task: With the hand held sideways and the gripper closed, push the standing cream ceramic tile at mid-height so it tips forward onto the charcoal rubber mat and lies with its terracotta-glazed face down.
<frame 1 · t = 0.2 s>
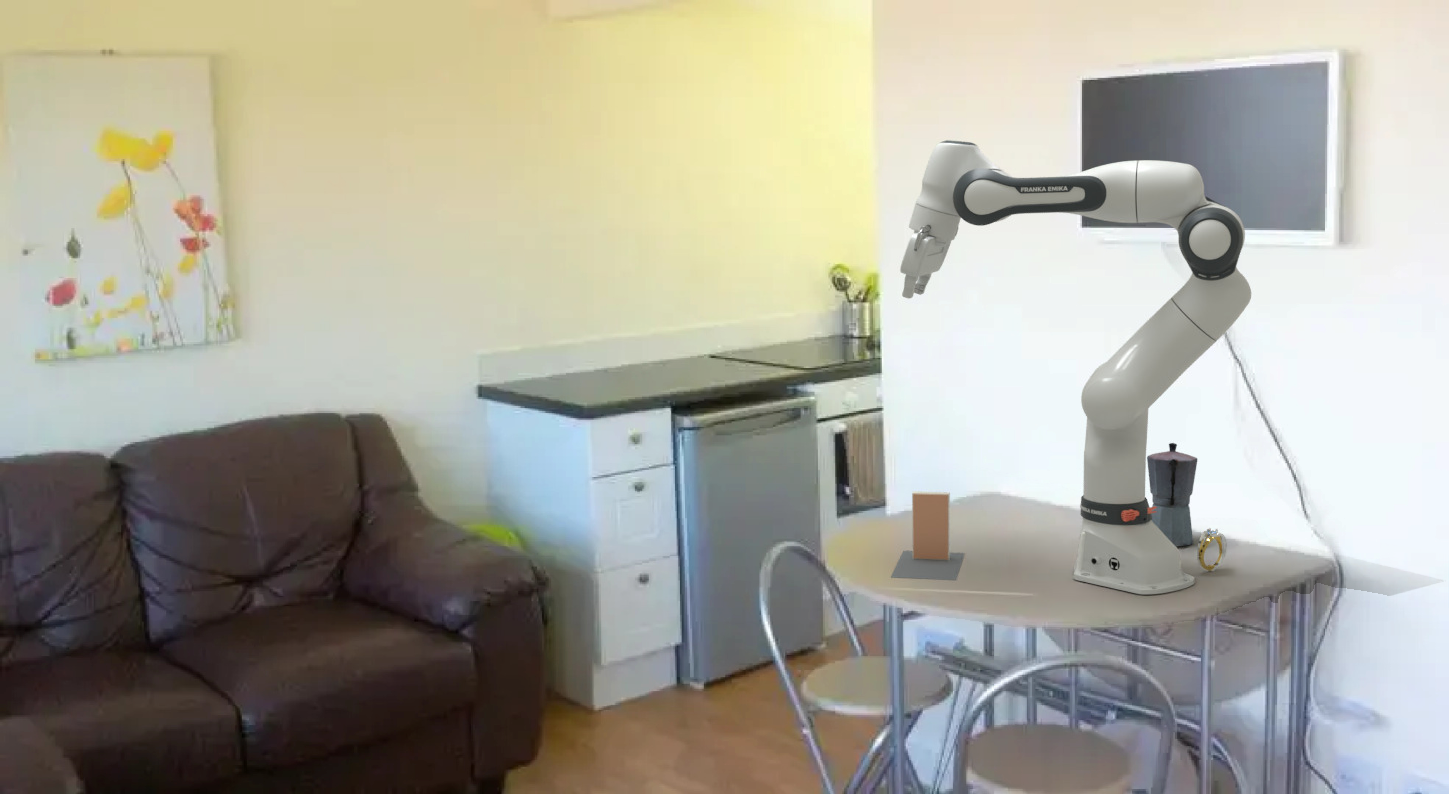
hand: (912, 295, 289), 51 cm above the table, tool tilted 15°, fingers open, 8 cm apart
moka pot: (1171, 544, 304), on the table
tile: (931, 558, 296), resting on mat
ring: (1211, 572, 284), on the table
mat: (928, 567, 291), on the table
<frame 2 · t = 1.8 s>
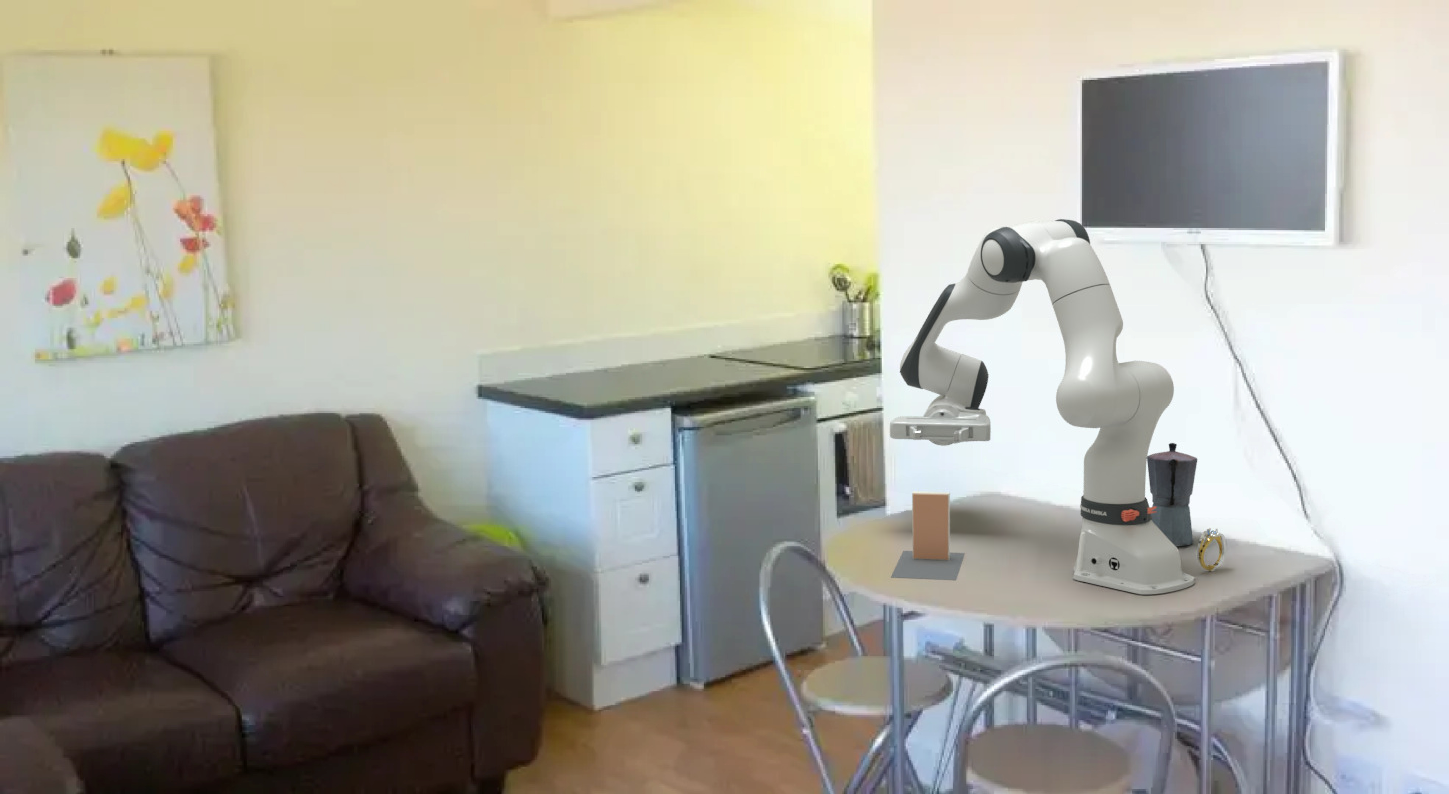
hand: (937, 436, 304), 22 cm above the table, tool horizontal, fingers open, 7 cm apart
nothing on the table moved.
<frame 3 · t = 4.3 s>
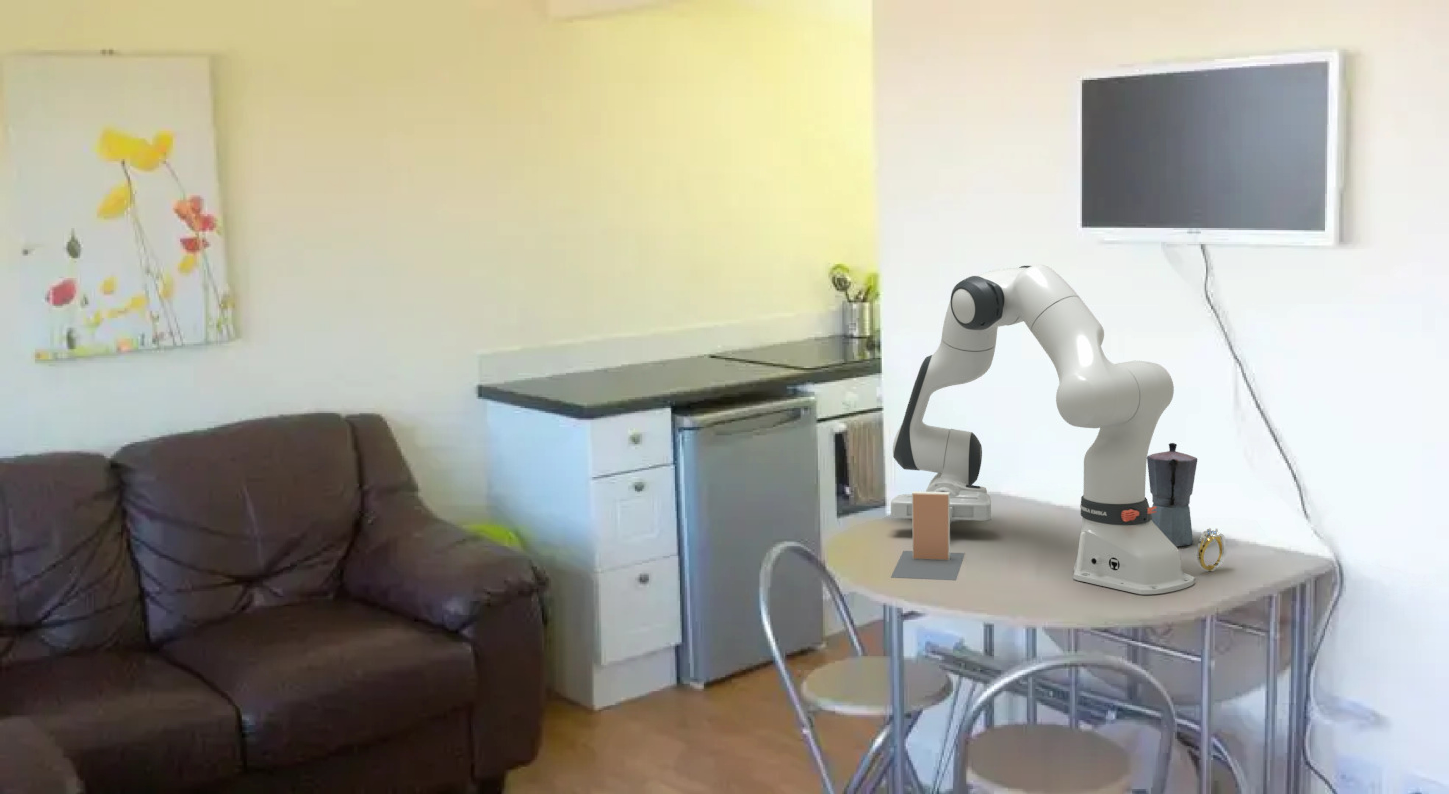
hand: (937, 516, 304), 6 cm above the table, tool horizontal, fingers closed
nothing on the table moved.
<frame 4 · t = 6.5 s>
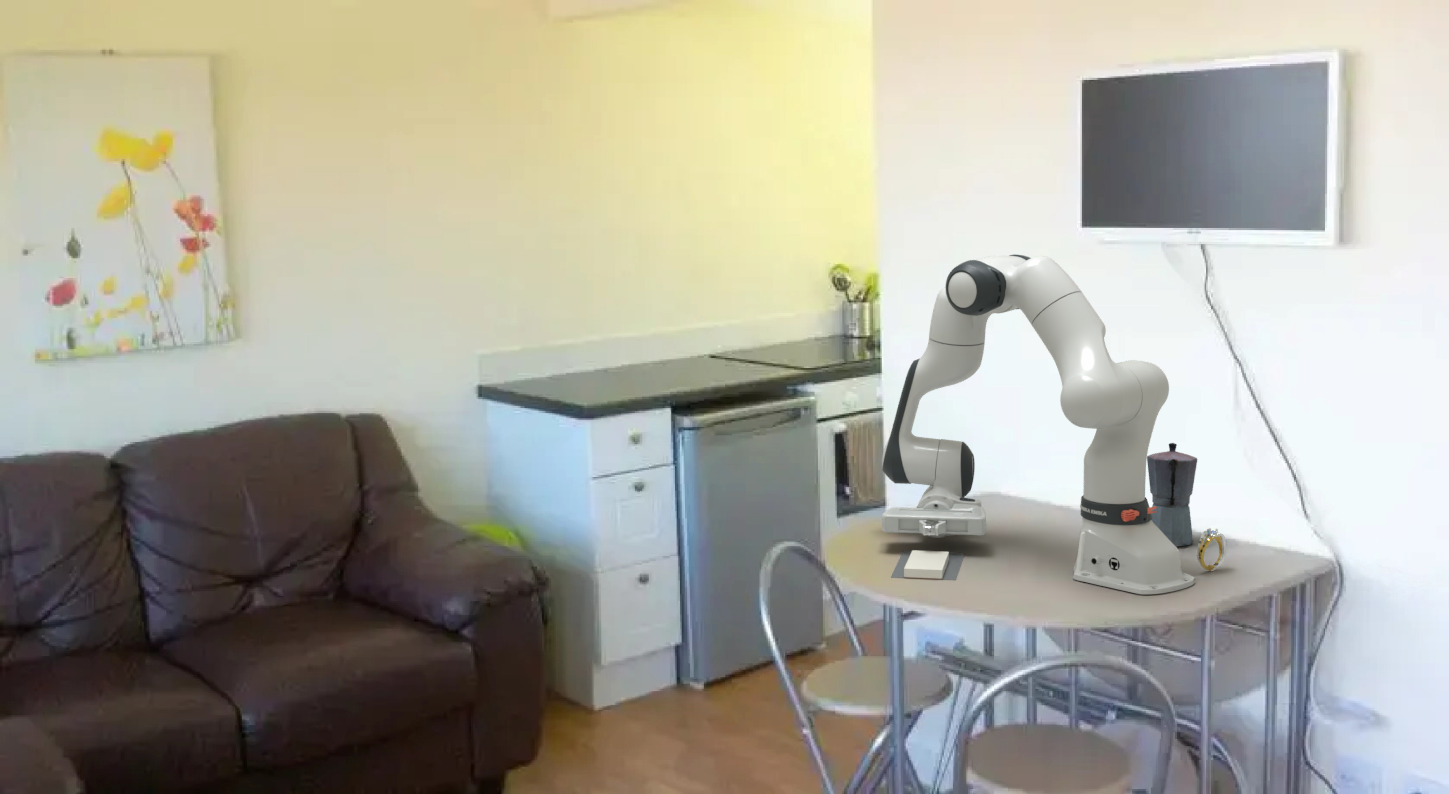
hand: (930, 531, 292), 6 cm above the table, tool horizontal, fingers closed
tile: (930, 555, 294), point 1 cm above the table, tilted 90°, touching mat
everything else where it was.
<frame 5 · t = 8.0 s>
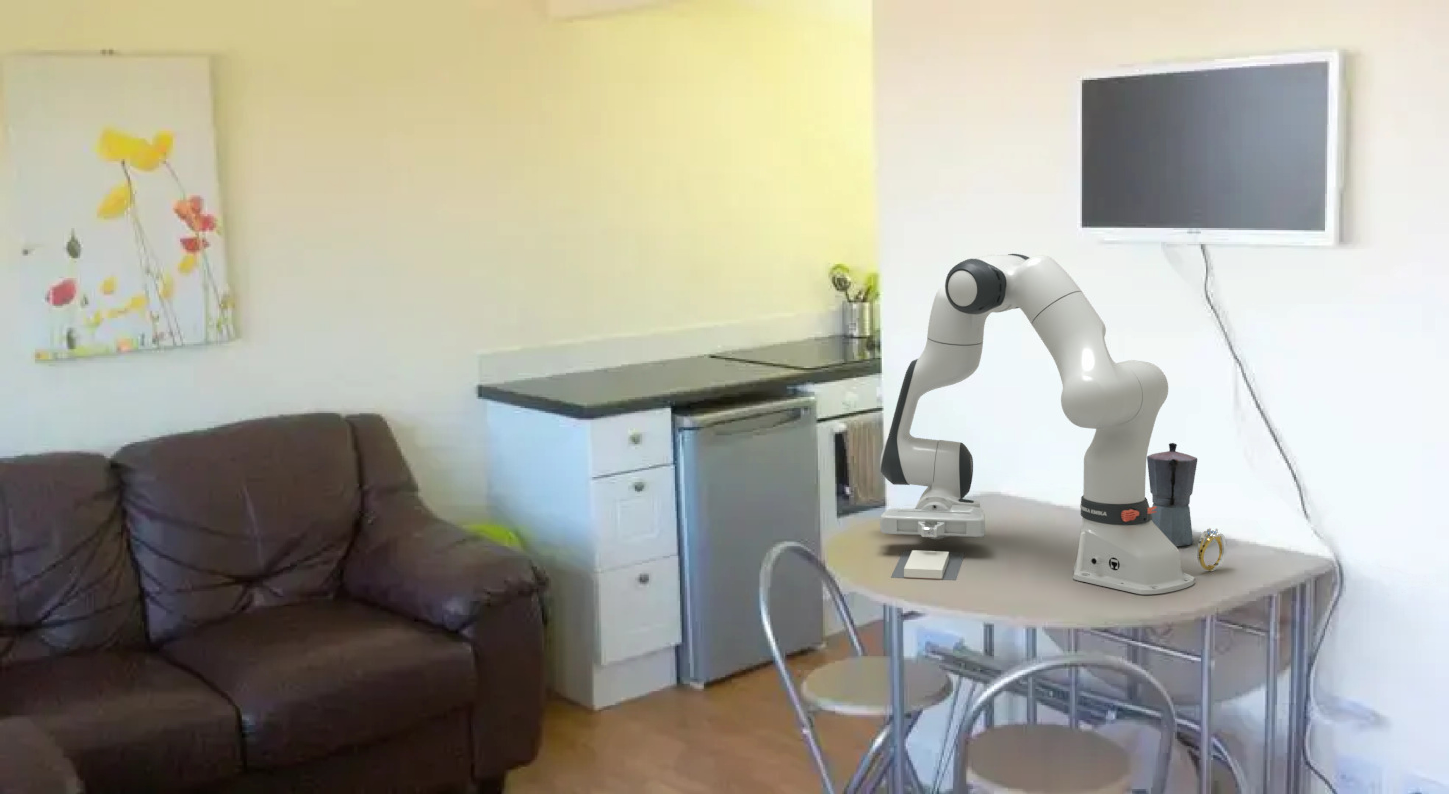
hand: (928, 533, 291), 7 cm above the table, tool horizontal, fingers closed
nothing on the table moved.
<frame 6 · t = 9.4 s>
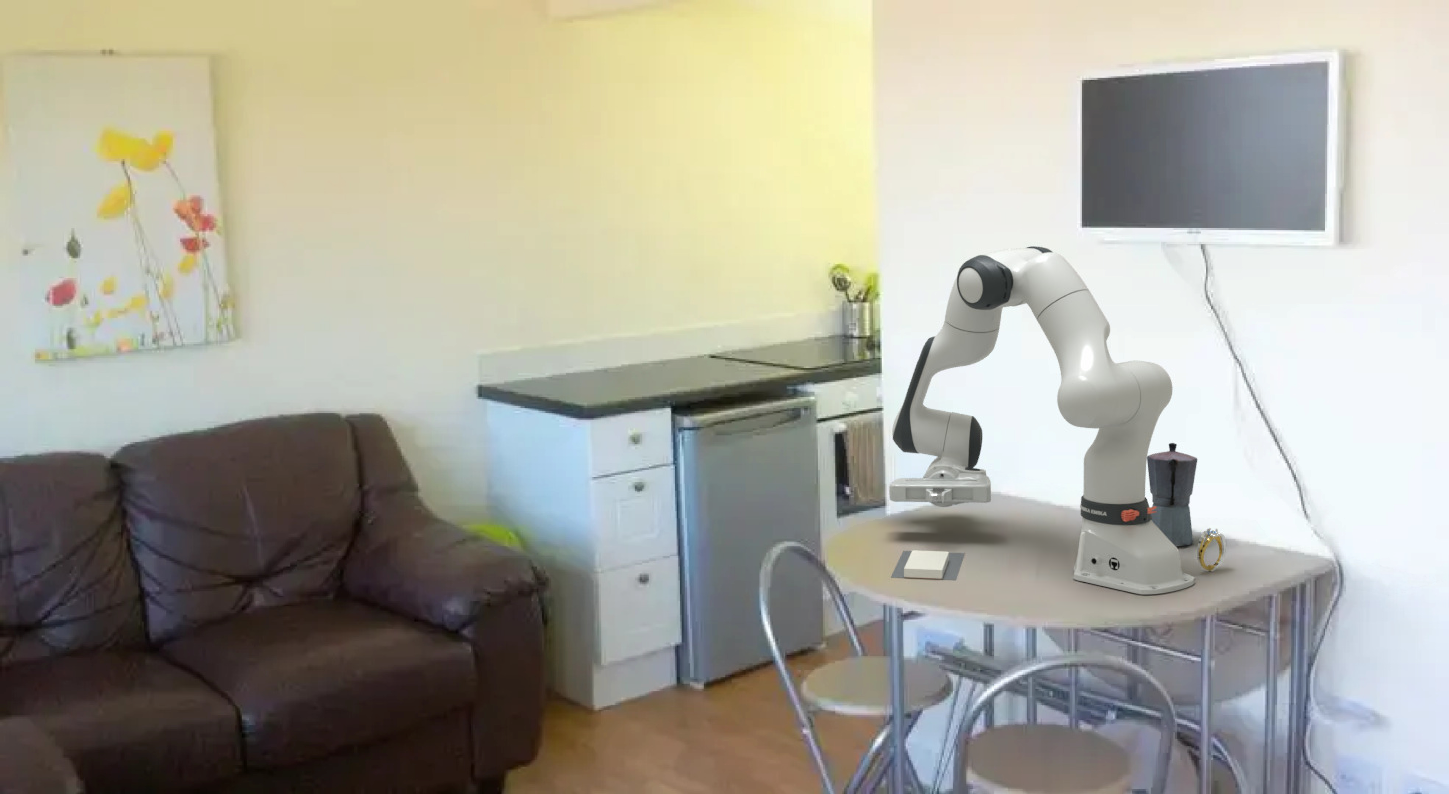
hand: (936, 498, 300), 11 cm above the table, tool horizontal, fingers closed
nothing on the table moved.
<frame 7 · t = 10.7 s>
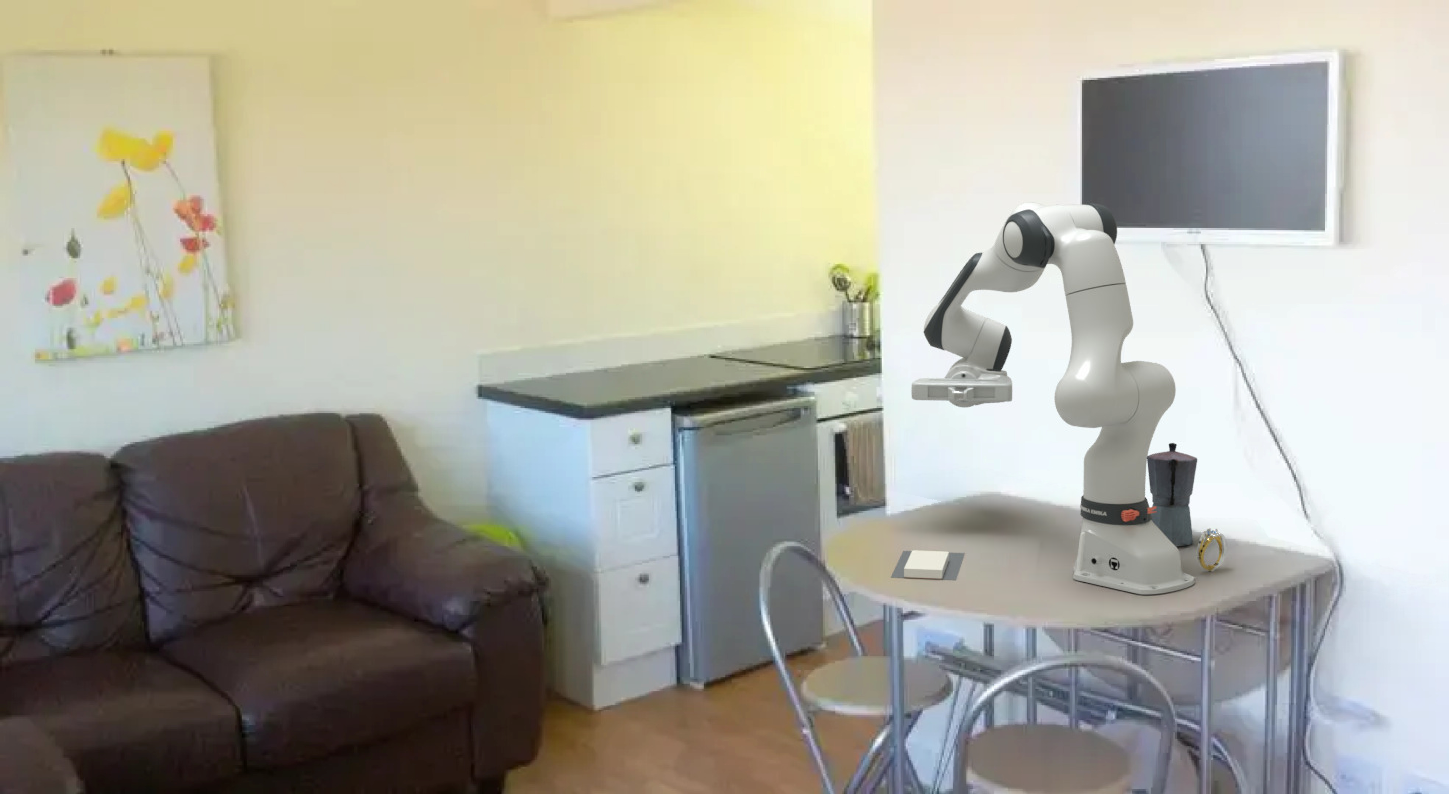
hand: (959, 396, 304), 30 cm above the table, tool horizontal, fingers closed
nothing on the table moved.
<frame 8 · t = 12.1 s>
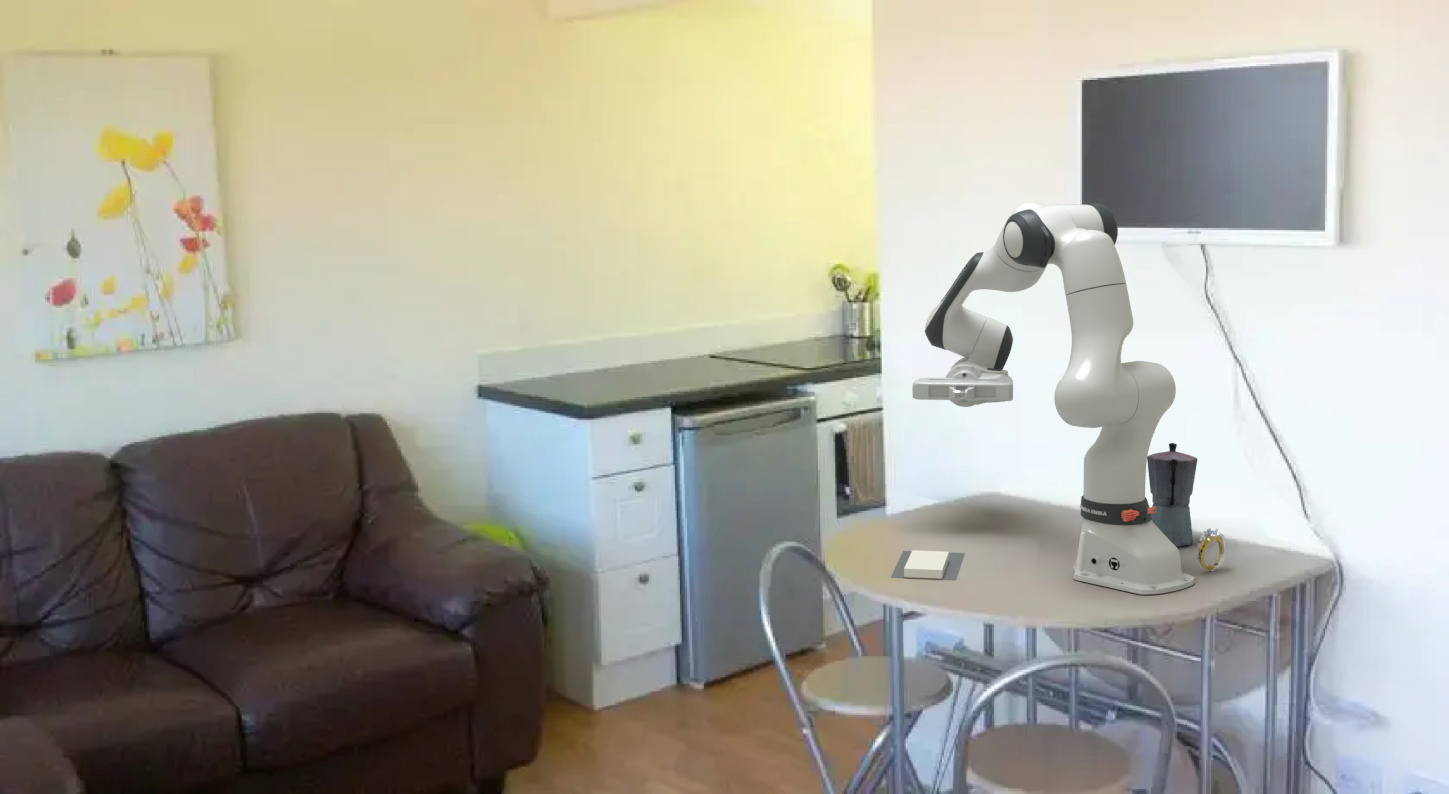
hand: (959, 395, 304), 30 cm above the table, tool horizontal, fingers closed
nothing on the table moved.
at the end: tile tilted 90°; tile 3.5 cm from the mat (horizontally); tile touching mat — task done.
